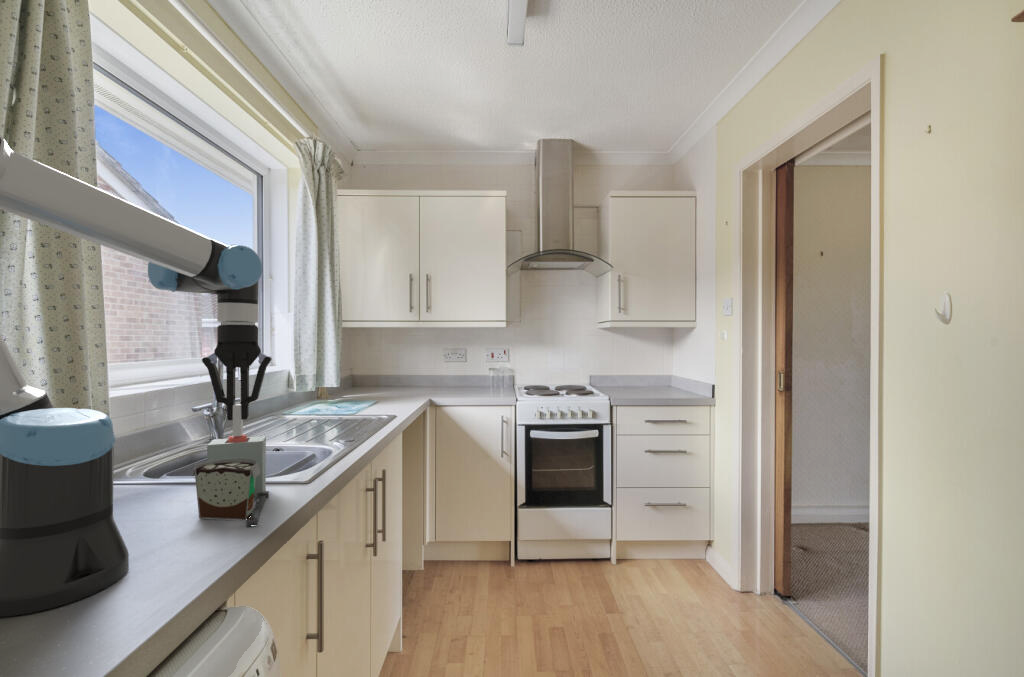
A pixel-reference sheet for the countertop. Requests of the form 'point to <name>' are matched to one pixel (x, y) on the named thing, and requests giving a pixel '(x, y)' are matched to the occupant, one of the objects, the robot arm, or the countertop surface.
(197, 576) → the countertop surface
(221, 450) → the cabinet
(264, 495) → the guide rail
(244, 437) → the button
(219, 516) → the food container
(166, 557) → the countertop surface
